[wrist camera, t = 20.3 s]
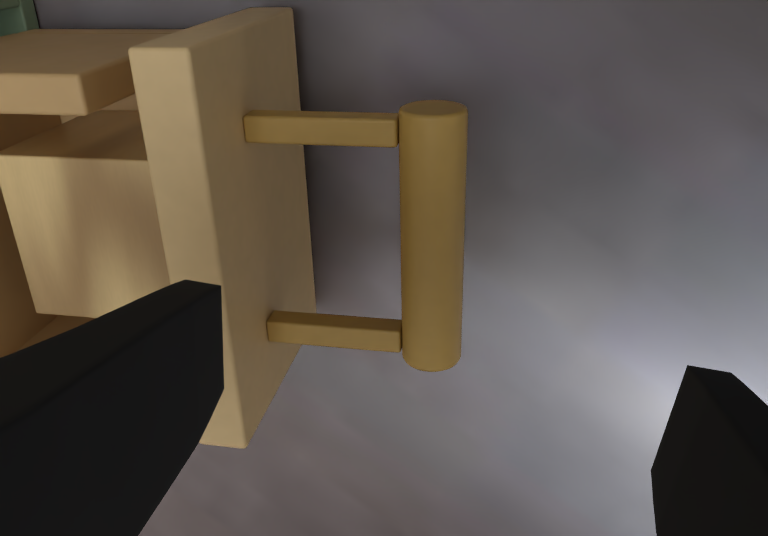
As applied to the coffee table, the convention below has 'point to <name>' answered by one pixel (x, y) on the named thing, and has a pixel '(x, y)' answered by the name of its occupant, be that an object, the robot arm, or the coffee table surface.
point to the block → (85, 215)
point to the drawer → (243, 191)
